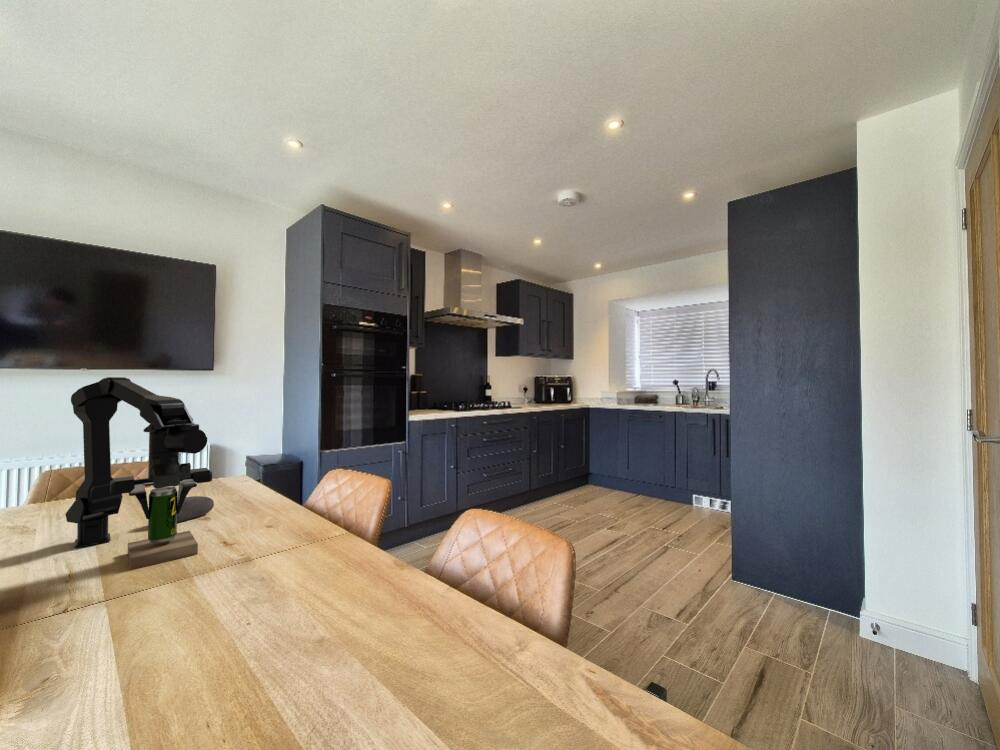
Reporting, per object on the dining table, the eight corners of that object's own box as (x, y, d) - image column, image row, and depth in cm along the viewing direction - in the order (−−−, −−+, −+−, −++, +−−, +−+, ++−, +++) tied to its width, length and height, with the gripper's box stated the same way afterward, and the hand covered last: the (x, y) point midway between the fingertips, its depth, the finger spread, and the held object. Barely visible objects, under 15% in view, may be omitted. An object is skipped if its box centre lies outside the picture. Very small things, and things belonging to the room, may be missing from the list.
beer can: (146, 545, 96) (147, 493, 97) (149, 538, 101) (150, 488, 101) (175, 540, 99) (176, 490, 100) (177, 533, 104) (178, 485, 104)
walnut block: (127, 553, 100) (127, 543, 100) (189, 540, 108) (189, 530, 108) (131, 569, 91) (131, 558, 91) (197, 553, 100) (197, 543, 100)
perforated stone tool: (210, 511, 133) (210, 490, 133) (217, 514, 130) (218, 492, 130) (151, 525, 120) (151, 501, 120) (158, 528, 117) (159, 504, 117)
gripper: (112, 460, 88) (110, 534, 88) (217, 451, 101) (216, 515, 101) (110, 454, 96) (109, 521, 96) (208, 445, 109) (207, 505, 109)
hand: (162, 516), depth 100 cm, fingers closed on beer can, 5 cm apart
